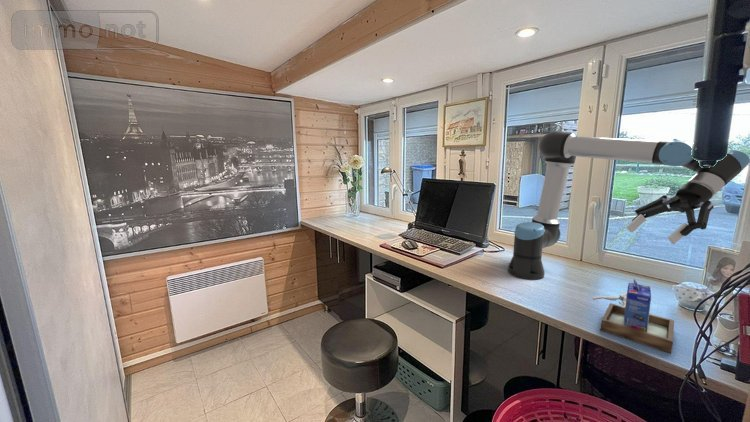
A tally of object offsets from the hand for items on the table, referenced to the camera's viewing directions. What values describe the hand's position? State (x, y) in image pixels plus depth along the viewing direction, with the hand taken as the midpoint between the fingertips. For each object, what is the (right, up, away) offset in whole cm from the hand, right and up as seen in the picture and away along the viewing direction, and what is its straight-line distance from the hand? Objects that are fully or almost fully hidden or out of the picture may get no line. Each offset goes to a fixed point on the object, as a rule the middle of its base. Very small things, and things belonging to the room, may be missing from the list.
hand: (648, 235), depth 96 cm
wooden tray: (-9, -29, -6) cm, 31 cm away
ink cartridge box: (-10, -28, -6) cm, 30 cm away
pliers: (+2, -26, +14) cm, 30 cm away
